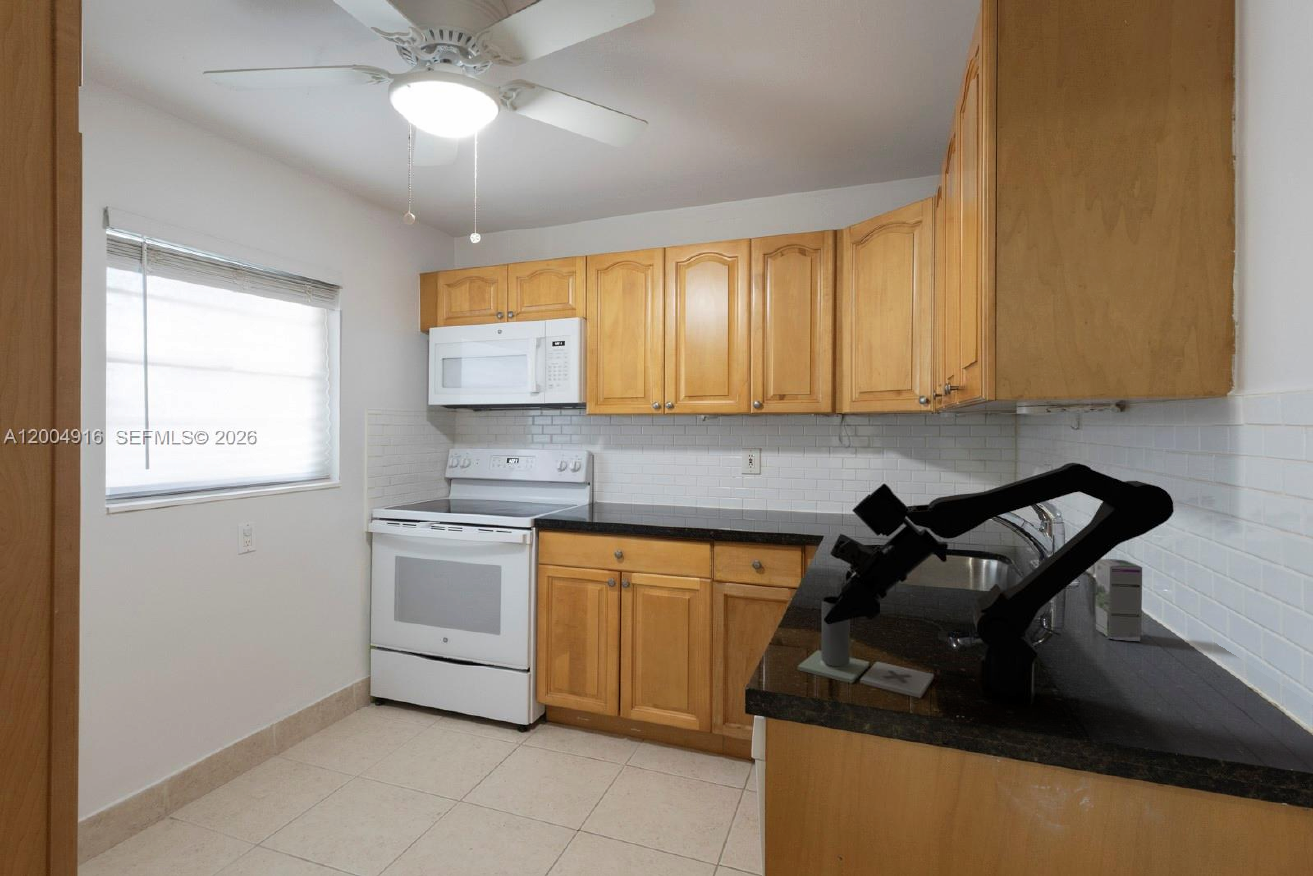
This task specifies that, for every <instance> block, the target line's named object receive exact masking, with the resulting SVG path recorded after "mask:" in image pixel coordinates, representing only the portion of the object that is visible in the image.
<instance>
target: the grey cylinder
mask: <svg viewBox="0 0 1313 876" xmlns="http://www.w3.org/2000/svg"><path fill="white" fill-rule="evenodd" d="M840 598H841V597H838V596H836V595H835V596H831V595H830V596H825V597H822V599H821V644H820V645H821V649H820V651H821V658H822V661H823V662H824V663H826V664H829V665H833V666H845V665H847V664H849V661H850V658H851V657H850V656H851V655H850V654H851V653H850V652H851V648H850V647H851V645H850V644H851V619H849V620H845V621H841V622H837V623H833V624H829V625H828V624H827V623H826V622H825V621H824V618H825V617H826V615H827V614H828V613H829V611H830V610H831V609H832V608H833V606H834V605H835V604H836V603H837V601H838V600H839V599H840Z"/></svg>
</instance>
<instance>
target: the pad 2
mask: <svg viewBox="0 0 1313 876" xmlns="http://www.w3.org/2000/svg"><path fill="white" fill-rule="evenodd" d="M934 678H935V674H933V673H928V672H925V671H921V670H917V669H911V668H907V667H903V666H899V665H894V664H889V663H885V662H881V661H876V662H875V663H873V665H872V666H871V667H870V668H869V669H868V670H867V671H866V673H865V674H863V676H861V678H860V679H859V683H860V684H862V683H863V685H867V686H872V687H874V688H879V689H883V690H887V691H890V692H894V693H898V694H903V695H905V696H906V695H908V696H911V697H915V698H918V699H922V696H923V695H924V694H925V692H926V691H927V689H928V688H929V686H930V684H931V683H932V681H933V680H934Z"/></svg>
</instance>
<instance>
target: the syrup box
mask: <svg viewBox="0 0 1313 876" xmlns="http://www.w3.org/2000/svg"><path fill="white" fill-rule="evenodd" d="M1095 564H1096V566H1095V568H1096V569H1095V574H1096V575H1095V607H1094V608H1095V612H1094V613H1095V615H1094V616H1095V617H1094V622H1095V623H1094V629H1095V628H1096V629H1097V630H1099V631H1100V632H1103V633H1104V634H1105V635H1106V636H1108V637H1109V636H1110V637H1131V638H1132V637H1141V638H1142V613H1143V612H1142V609H1143V608H1142V607H1143V606H1142V605H1143V602H1142V601H1143V567H1142V566H1140V565H1138V564H1135V563H1133V562H1131V561H1128V560H1124V559H1115V558H1113V559H1112V558H1110V559H1109V558H1105V559H1104V558H1101V559H1100V560H1098V561H1097V562H1096V563H1095Z"/></svg>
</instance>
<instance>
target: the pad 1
mask: <svg viewBox="0 0 1313 876" xmlns="http://www.w3.org/2000/svg"><path fill="white" fill-rule="evenodd" d="M869 666H870V661H866V660H863V659H858V658H854V657H850V661H849V664H847V665H845V666H833V665H829V664H826V663H824V662H823V661H822V658H821V650H819V649H818V650H817V649H816V651H815V652H814V653H812V654H811V655H810V656H808V657H807V658H806V659H805V660H803V661H802V662H801V663H800V664H798V665H797V670H798V671H801V672H805V673H809V674H811V675H812V674H813V675H816V676H817V675H818V676H820V677H824V678H829V679H833V680H837V681H841V682H844V683H848V682H849V684H853V683H854V682H855V681H856V680H857V679H858V678H859V677H860V675H862V674H863V672H864V671H865V670H866V669H868V667H869ZM856 678H857V679H856ZM855 679H856V680H855Z"/></svg>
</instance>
